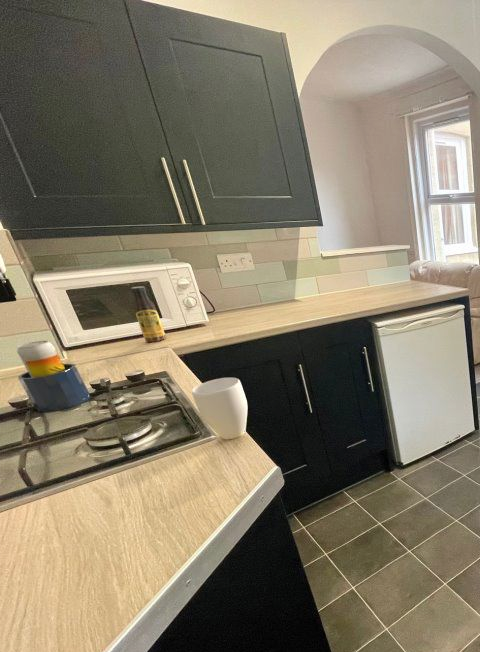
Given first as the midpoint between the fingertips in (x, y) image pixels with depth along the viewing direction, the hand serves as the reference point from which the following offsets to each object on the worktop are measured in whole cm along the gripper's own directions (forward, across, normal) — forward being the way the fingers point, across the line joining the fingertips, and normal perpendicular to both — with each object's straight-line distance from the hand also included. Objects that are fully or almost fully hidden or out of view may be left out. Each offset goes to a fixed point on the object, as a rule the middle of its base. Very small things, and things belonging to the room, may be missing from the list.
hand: (6, 299), depth 96 cm
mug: (+26, +54, +24) cm, 64 cm away
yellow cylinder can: (+26, +1, +1) cm, 26 cm away
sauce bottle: (+27, -50, +29) cm, 64 cm away
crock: (+27, +1, +1) cm, 27 cm away
